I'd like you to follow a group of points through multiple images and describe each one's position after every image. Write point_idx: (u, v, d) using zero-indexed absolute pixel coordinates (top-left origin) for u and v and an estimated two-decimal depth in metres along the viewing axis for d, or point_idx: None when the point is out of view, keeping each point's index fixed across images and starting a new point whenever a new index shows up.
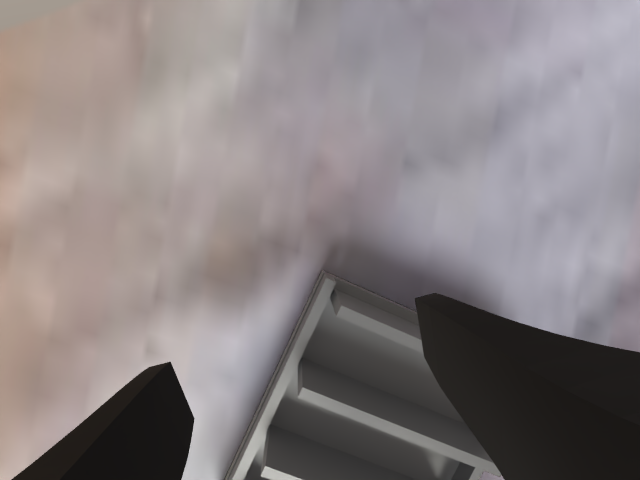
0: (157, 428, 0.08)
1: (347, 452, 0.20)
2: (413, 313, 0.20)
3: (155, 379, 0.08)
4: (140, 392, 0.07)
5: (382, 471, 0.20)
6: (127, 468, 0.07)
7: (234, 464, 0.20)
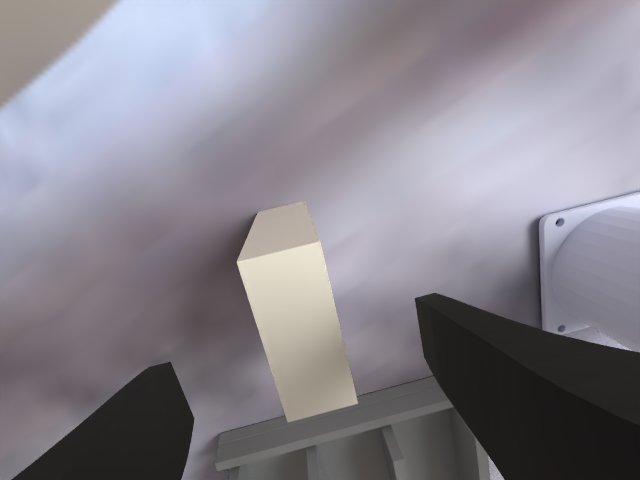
0: (157, 428, 0.08)
1: None
2: None
3: (155, 379, 0.08)
4: (140, 392, 0.07)
5: (390, 473, 0.21)
6: (127, 468, 0.07)
7: None
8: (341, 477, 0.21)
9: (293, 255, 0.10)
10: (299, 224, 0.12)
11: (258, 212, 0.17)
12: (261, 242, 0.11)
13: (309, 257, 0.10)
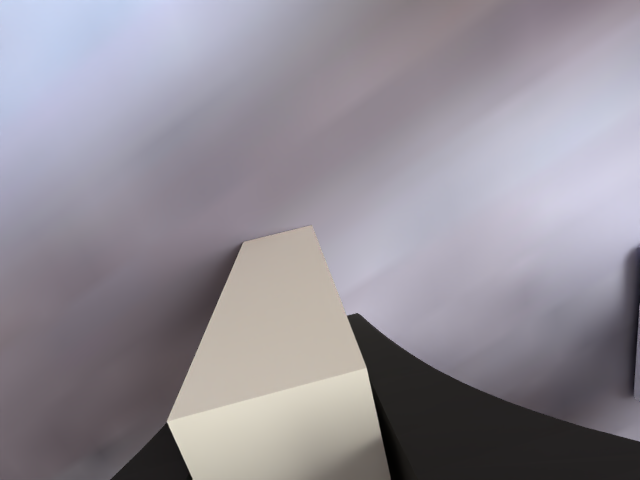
0: None
1: None
2: None
3: None
4: None
5: None
6: None
7: None
8: None
9: (303, 400, 0.04)
10: (310, 286, 0.07)
11: (244, 243, 0.11)
12: (236, 338, 0.05)
13: (340, 402, 0.04)
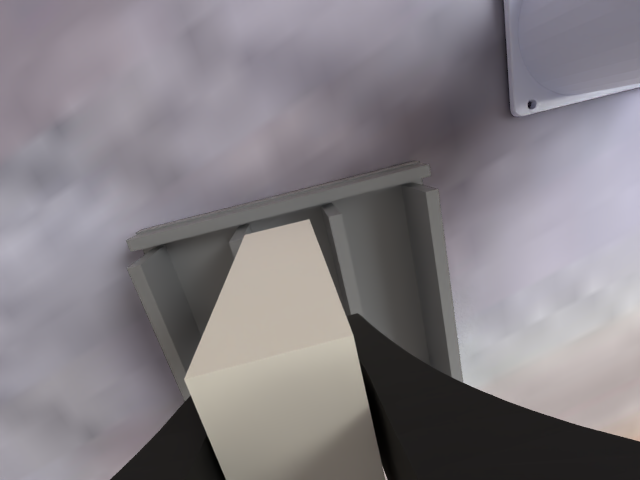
0: None
1: (345, 314, 0.20)
2: None
3: None
4: None
5: (339, 281, 0.19)
6: None
7: None
8: None
9: (299, 361, 0.05)
10: (306, 272, 0.07)
11: (245, 235, 0.12)
12: (240, 315, 0.06)
13: (331, 364, 0.05)
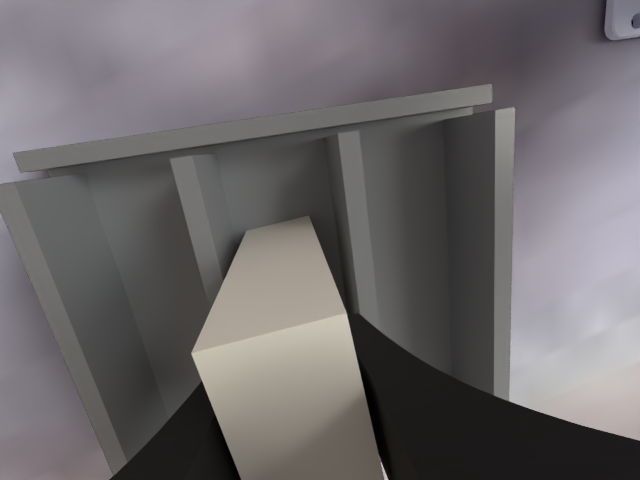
0: None
1: (344, 303, 0.14)
2: None
3: None
4: None
5: (340, 253, 0.13)
6: None
7: None
8: None
9: (297, 338, 0.05)
10: (305, 262, 0.08)
11: (247, 231, 0.13)
12: (243, 300, 0.07)
13: (326, 340, 0.05)
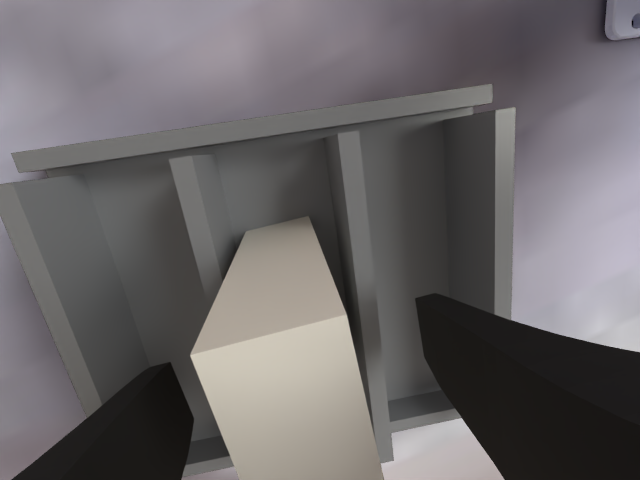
0: (157, 428, 0.08)
1: (344, 303, 0.14)
2: None
3: (155, 379, 0.08)
4: (140, 392, 0.07)
5: (340, 253, 0.13)
6: (127, 468, 0.07)
7: None
8: None
9: (296, 339, 0.05)
10: (304, 262, 0.08)
11: (246, 232, 0.13)
12: (242, 301, 0.07)
13: (326, 342, 0.05)
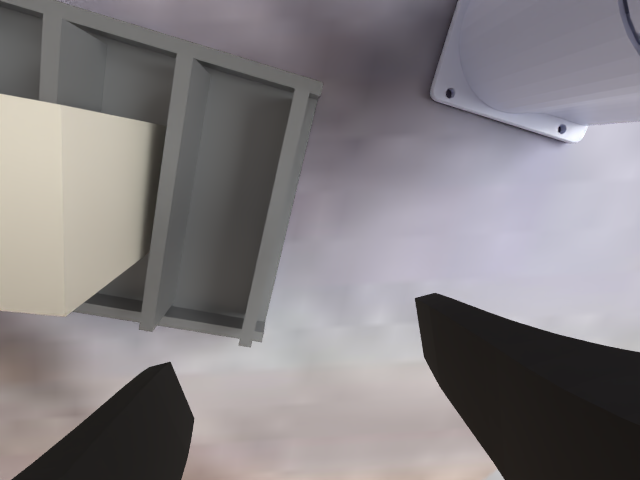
0: (157, 428, 0.08)
1: None
2: None
3: (155, 379, 0.08)
4: (140, 392, 0.07)
5: None
6: (127, 468, 0.07)
7: None
8: None
9: (23, 107, 0.08)
10: None
11: None
12: None
13: (43, 117, 0.08)
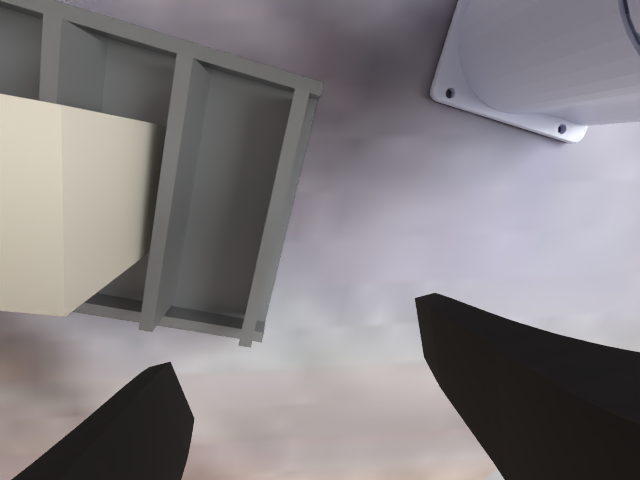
0: (157, 428, 0.08)
1: None
2: None
3: (155, 379, 0.08)
4: (140, 392, 0.07)
5: None
6: (127, 468, 0.07)
7: None
8: None
9: (23, 107, 0.08)
10: None
11: None
12: None
13: (43, 117, 0.08)
